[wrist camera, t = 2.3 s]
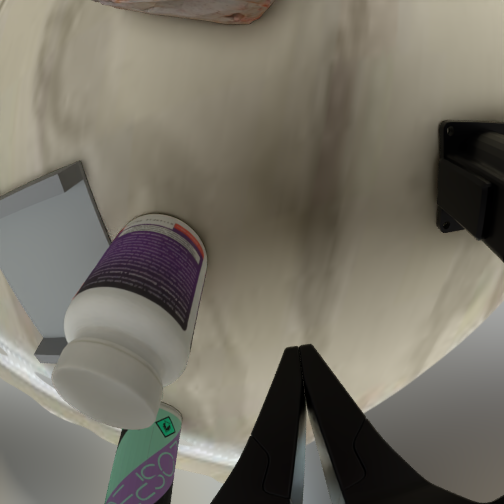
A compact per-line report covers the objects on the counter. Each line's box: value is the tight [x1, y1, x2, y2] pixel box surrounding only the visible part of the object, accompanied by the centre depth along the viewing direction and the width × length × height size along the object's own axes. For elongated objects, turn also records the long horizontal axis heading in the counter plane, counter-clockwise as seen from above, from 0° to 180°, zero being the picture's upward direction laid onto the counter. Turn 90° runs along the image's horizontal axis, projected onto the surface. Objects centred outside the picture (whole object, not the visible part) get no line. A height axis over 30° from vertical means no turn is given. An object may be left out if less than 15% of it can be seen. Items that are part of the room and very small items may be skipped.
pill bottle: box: [51, 214, 207, 430], centre depth 13 cm, size 5×5×10 cm
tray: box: [0, 161, 111, 364], centre depth 17 cm, size 11×13×2 cm
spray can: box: [105, 402, 182, 504], centre depth 18 cm, size 6×6×20 cm
